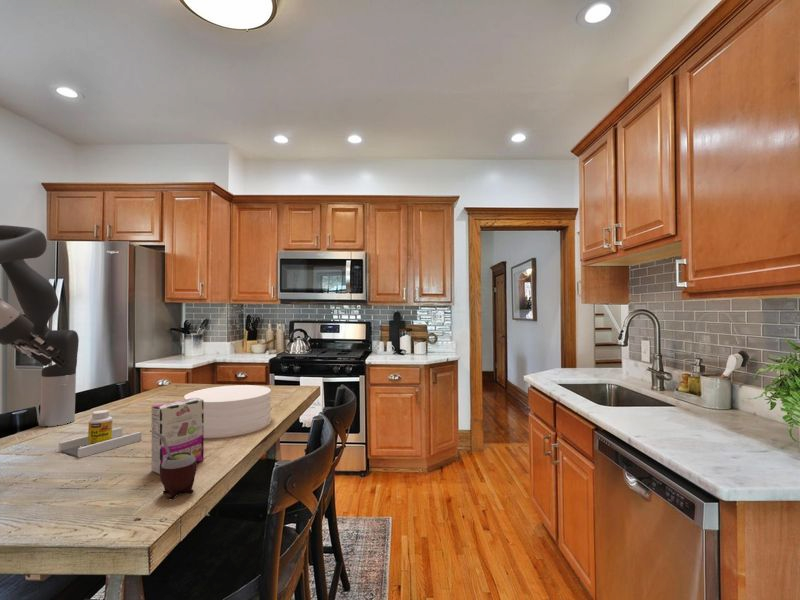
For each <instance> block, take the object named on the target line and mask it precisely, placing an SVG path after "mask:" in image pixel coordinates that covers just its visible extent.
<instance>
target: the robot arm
mask: <svg viewBox="0 0 800 600" xmlns="http://www.w3.org/2000/svg"><path fill="white" fill-rule="evenodd" d="M47 243H48V242H47V237H46V235H45V234H44V232H42V231H41V230H40V229H37V228H33V227H27V226H17V225H8V224H7V225H5V224H1V225H0V266H1V267H2V269H3V271H4V272H5V273H6V276H7V278H8V280H9V282H10V284H11V287H12V288H13V291H14V293H15V296H16V299H17V301H18V303H19V305H20V307H21V308H20V309H21V310H22V311H23V313H24V315H25V316H24V315H23V314H22V313H21V312H20V311H18V310H17V309H16V308H15V307H14V306H12V305H11V304H9V303H7V302H6V301H5V300H3V299H2V298H0V345H2V346H5V345H6V346H8V345H10V346H12V348H14V349H15V350H16V351H17V352H19V353H20V354H22V355H23V356H25V357H28V358H30V359H33V360H35V362H38V363H39V364H40V365H41V366H43V368H42V369H41V376H40V377H41V381H40V383H41V385H40V386H41V387H40V410H39V411H40V412H39V413H40V414H39V416H40V419H39V426H40V427H45V426H48V427H56V426H57V425H58V426H62V425H63V426H64V425H67V423H68V424H70V422H71V423H73V422H75V421H76V420H75V419H76V418H75V417H76V416H75V415H76V414H75V413H76V385H77V384H76V380H77V379H76V378H77V366H78V352H79V342H80V341H79V334H78V332H77V331H76V330H72V329H71V330H70V329H69V330H68V329H59V330H58V329H53V330H52V329H50V328H49V326H48V323H49V321H50V319H51V318H52V316H54V313H55V312H56V311H57V309H58V307H59V299H58V296H57V293H56V290H55V288H54V286H53V284H52V283H51V282H50V281H49V280H48V279H46V277H44V276H43V275H41V273H39V272H38V271H37V270H35V269H33V268H32V267H31V266H29V264H28V263H27V262H26V261H25V260H27V259H37V258H40V257H42V255H43V254H44V253H45V251H46V250H47V245H48V244H47ZM51 363H54V364H51ZM49 364H51V365H49ZM48 365H49V366H48Z"/></svg>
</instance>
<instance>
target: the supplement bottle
mask: <svg viewBox="0 0 800 600" xmlns="http://www.w3.org/2000/svg"><path fill="white" fill-rule="evenodd" d="M91 416H92V417H91V418H90V419H89V421H88V434H87V436H88V445H92V444H95V443H99V442H103V441H106V440H110V439H113V438H112V429H113V417H112V416H111V415H110V410H109V409H101V410H96V411H95V410H94V411H92V415H91ZM88 445H87V446H88Z"/></svg>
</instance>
